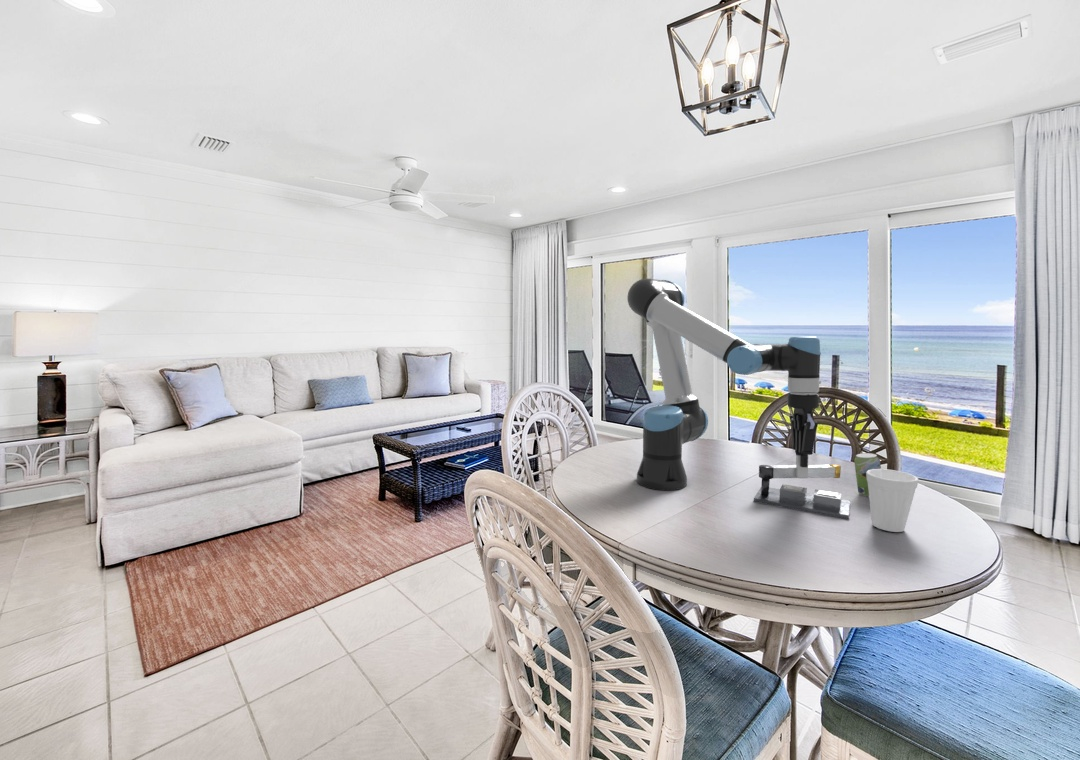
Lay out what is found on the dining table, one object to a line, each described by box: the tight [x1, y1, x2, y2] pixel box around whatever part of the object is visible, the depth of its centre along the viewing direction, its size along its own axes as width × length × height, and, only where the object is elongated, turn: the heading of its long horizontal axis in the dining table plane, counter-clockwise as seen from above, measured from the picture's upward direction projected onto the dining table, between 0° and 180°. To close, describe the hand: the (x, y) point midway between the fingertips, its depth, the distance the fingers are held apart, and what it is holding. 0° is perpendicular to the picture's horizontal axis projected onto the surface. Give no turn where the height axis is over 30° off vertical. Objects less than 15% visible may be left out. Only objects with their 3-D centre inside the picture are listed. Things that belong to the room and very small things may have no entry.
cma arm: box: [758, 463, 842, 480], centre depth 133 cm, size 23×4×3 cm, turn 91°
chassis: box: [753, 478, 851, 520], centre depth 129 cm, size 22×12×6 cm, turn 56°
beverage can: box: [853, 452, 882, 498], centre depth 135 cm, size 6×7×12 cm
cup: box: [866, 468, 920, 533], centre depth 113 cm, size 10×10×13 cm
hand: (801, 477), depth 131 cm, fingers closed
